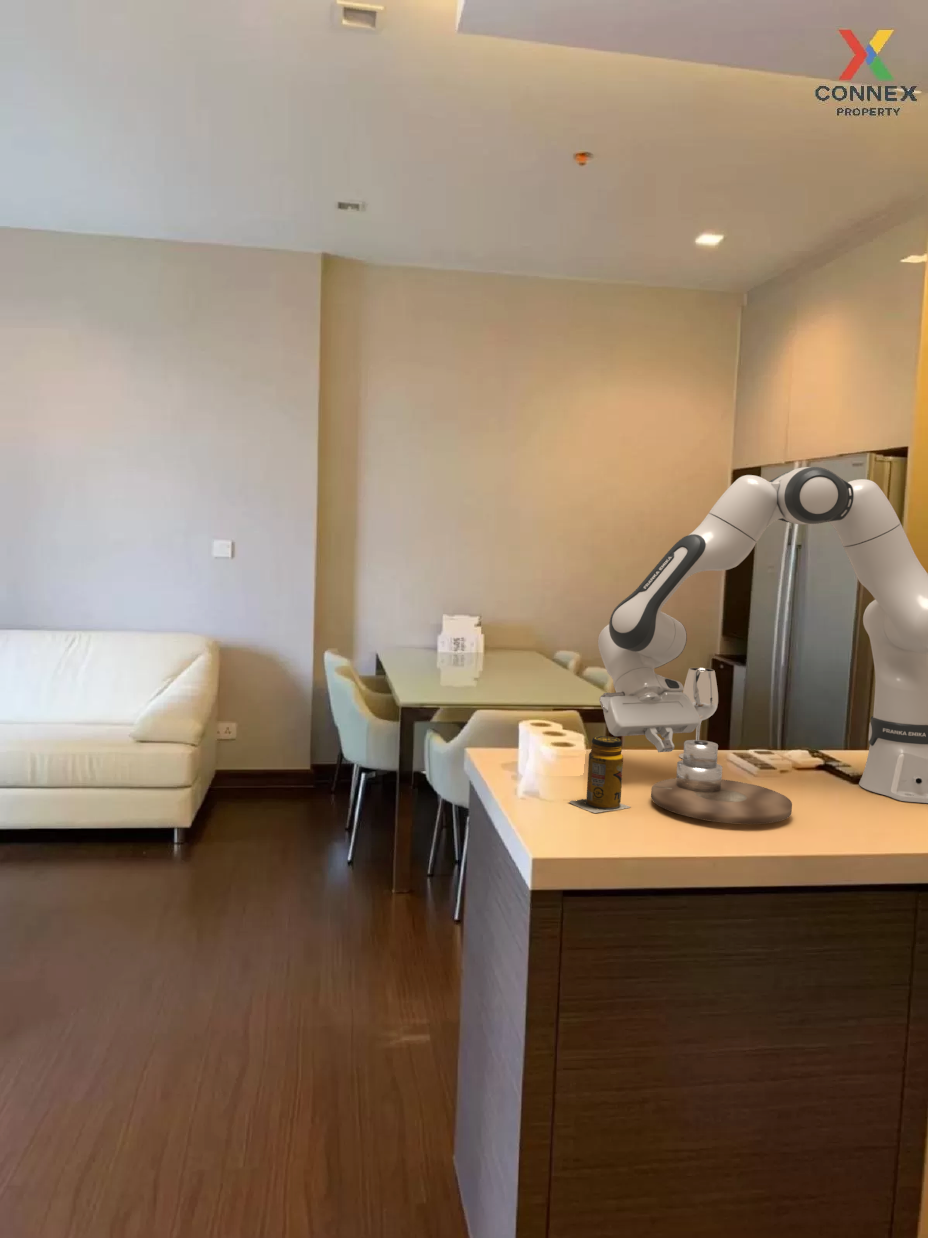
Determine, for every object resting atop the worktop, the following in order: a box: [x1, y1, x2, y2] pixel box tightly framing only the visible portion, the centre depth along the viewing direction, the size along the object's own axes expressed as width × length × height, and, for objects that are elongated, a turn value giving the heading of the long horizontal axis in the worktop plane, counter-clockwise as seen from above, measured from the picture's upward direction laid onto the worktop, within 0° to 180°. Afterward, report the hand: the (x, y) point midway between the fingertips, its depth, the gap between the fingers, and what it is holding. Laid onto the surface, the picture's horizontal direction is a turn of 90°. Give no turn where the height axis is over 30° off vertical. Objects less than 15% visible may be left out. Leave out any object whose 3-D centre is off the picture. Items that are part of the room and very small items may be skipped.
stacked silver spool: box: [676, 739, 723, 792], centre depth 162 cm, size 8×8×8 cm
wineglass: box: [678, 667, 719, 760], centre depth 196 cm, size 8×8×20 cm
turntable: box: [650, 778, 793, 825], centre depth 157 cm, size 24×24×2 cm
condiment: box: [569, 735, 631, 814], centre depth 156 cm, size 7×8×12 cm
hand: (666, 750), depth 170 cm, fingers closed
